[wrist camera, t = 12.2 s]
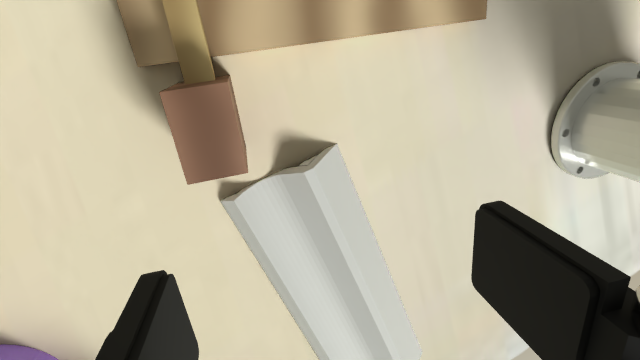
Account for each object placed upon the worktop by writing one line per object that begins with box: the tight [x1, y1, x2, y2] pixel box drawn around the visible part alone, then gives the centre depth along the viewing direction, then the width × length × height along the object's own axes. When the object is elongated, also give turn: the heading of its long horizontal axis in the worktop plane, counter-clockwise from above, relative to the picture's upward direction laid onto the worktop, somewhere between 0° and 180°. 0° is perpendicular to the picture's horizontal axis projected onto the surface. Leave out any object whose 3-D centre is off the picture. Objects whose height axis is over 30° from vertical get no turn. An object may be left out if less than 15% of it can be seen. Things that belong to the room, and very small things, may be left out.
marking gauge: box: [159, 0, 248, 185], centre depth 23 cm, size 4×16×7 cm, turn 8°
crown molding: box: [221, 144, 422, 360], centre depth 36 cm, size 31×12×4 cm, turn 23°
